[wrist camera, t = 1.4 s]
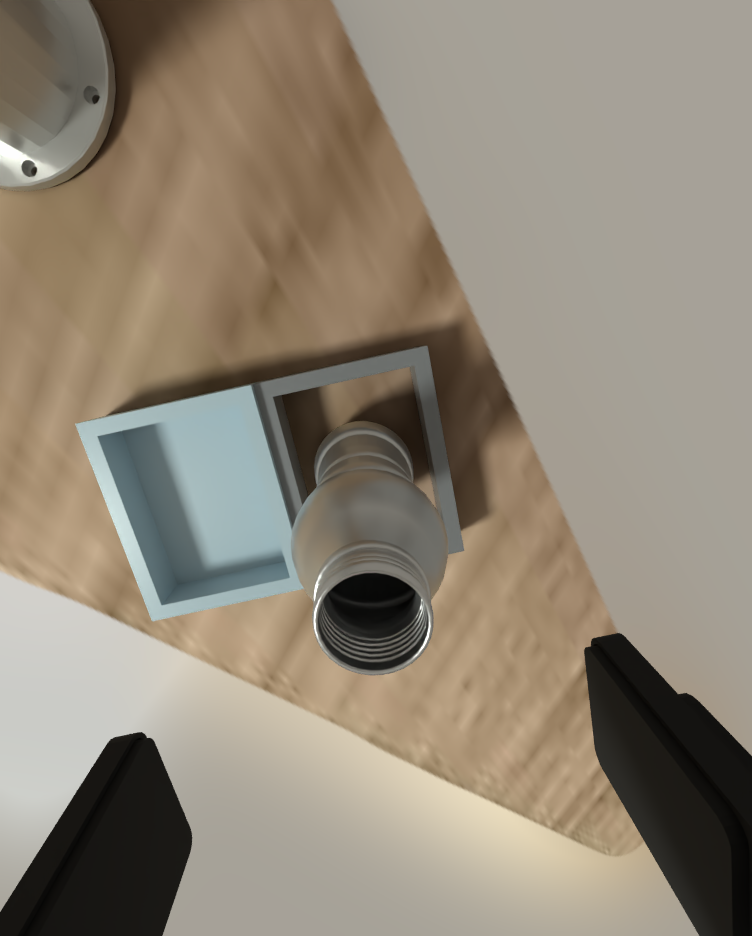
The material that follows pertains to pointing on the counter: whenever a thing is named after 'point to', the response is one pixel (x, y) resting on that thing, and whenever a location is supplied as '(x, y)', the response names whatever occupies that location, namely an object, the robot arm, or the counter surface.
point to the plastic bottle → (369, 551)
